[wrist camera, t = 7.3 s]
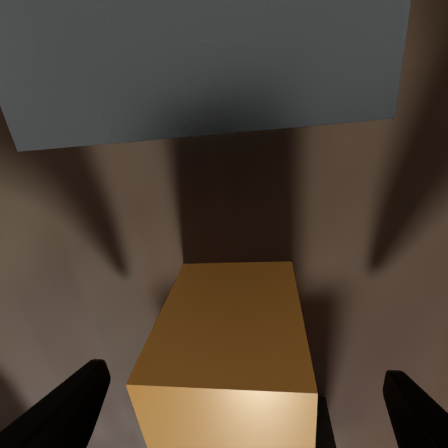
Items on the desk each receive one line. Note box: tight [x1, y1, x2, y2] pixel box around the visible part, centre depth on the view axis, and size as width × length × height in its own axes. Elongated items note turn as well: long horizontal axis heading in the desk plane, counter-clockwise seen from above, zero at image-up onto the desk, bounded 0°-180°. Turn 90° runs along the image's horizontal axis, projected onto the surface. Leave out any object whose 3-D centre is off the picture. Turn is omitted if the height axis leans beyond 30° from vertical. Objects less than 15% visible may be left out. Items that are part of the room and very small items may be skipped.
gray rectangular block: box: [0, 0, 411, 152], centre depth 6 cm, size 6×2×4 cm, turn 95°
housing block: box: [126, 261, 318, 448], centre depth 9 cm, size 4×5×5 cm
